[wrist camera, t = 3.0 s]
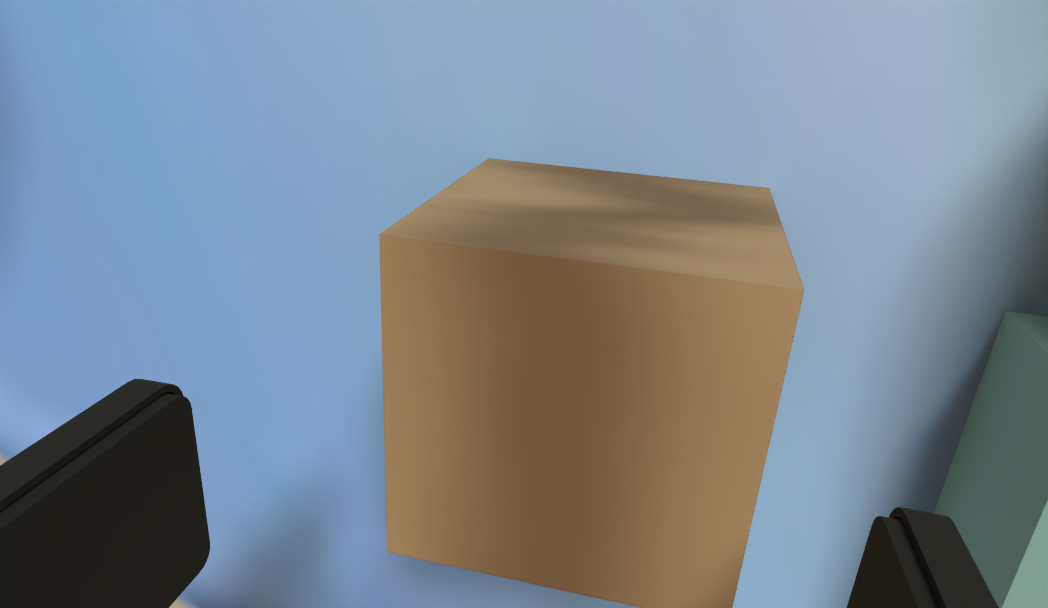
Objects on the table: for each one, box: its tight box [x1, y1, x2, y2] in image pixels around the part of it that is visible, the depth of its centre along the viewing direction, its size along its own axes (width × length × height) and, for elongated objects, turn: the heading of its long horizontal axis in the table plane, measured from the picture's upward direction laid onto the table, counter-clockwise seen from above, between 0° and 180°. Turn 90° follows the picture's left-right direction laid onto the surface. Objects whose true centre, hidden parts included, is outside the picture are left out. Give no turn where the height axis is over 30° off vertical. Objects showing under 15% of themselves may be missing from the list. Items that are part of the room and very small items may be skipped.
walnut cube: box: [380, 159, 804, 608], centre depth 14 cm, size 6×6×6 cm
